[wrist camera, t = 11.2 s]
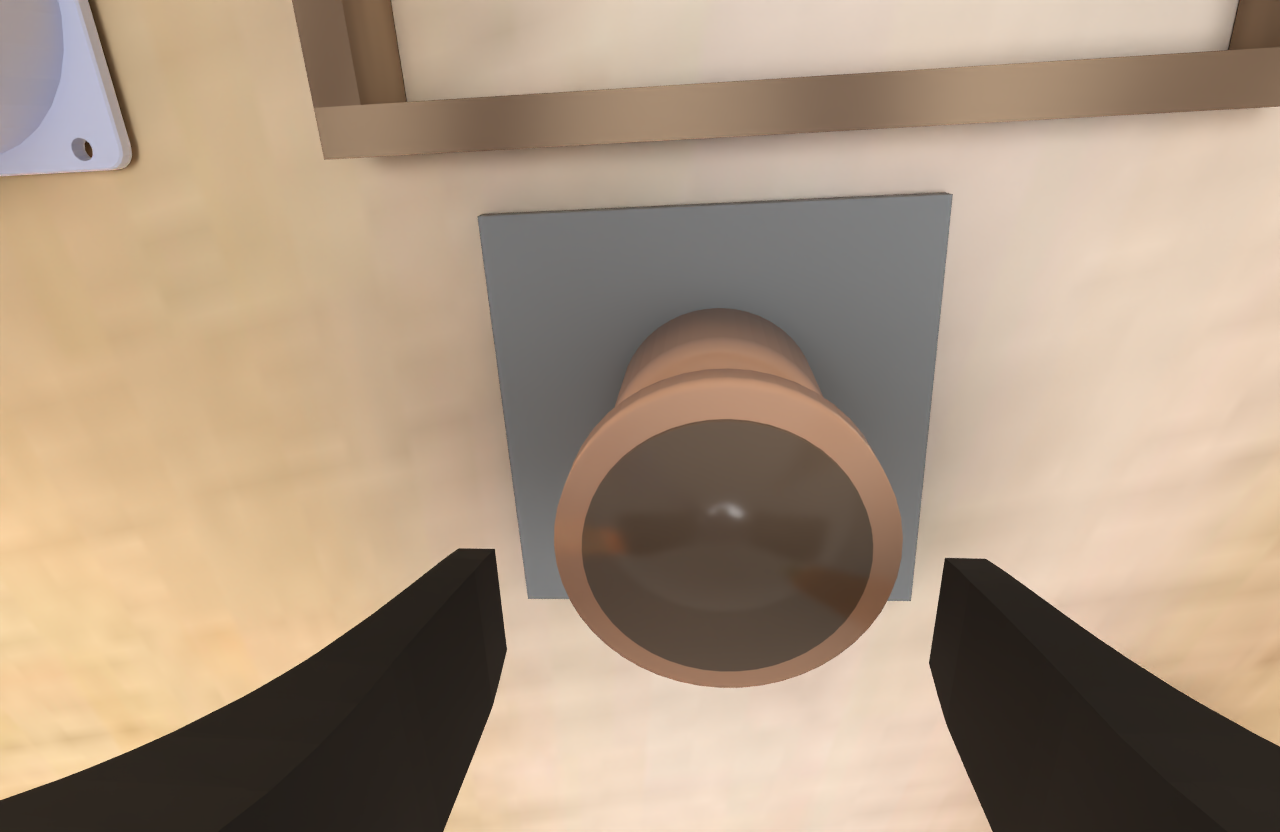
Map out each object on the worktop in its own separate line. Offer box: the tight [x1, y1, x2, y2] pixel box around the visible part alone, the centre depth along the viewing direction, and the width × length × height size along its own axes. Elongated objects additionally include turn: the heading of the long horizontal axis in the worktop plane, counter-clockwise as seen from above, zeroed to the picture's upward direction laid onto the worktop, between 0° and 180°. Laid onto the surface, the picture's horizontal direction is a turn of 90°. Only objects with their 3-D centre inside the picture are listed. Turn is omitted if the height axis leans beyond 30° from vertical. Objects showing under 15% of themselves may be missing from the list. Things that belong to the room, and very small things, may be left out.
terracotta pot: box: [554, 308, 903, 688], centre depth 15 cm, size 6×6×7 cm
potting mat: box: [478, 193, 953, 601], centre depth 19 cm, size 11×11×1 cm
